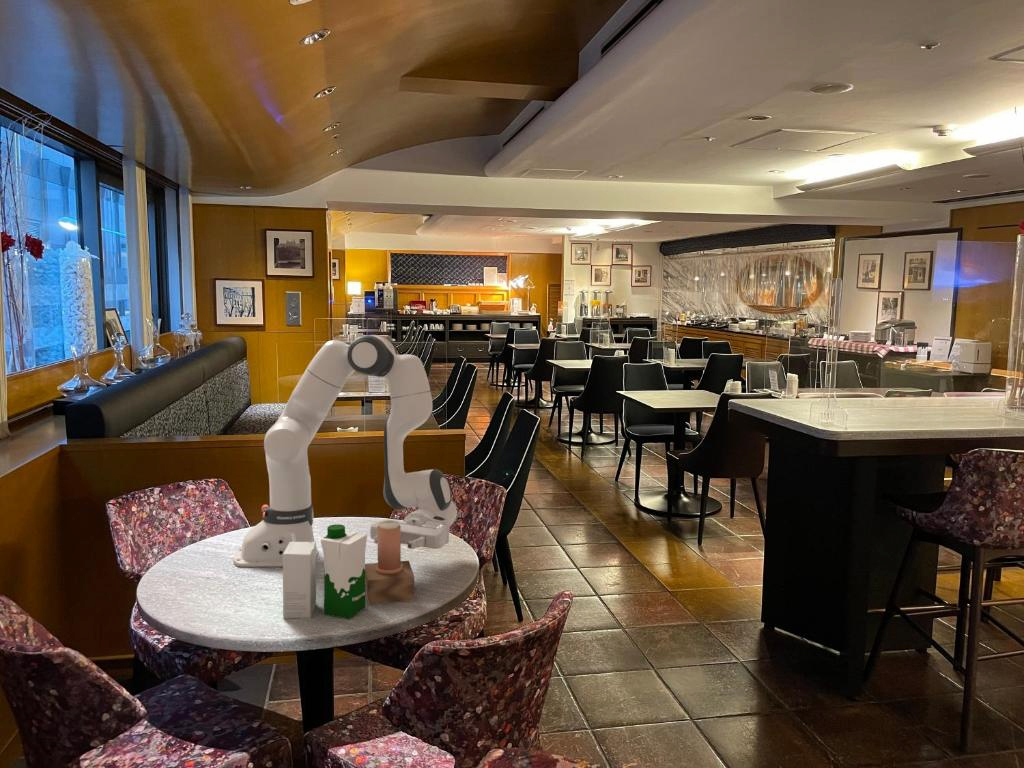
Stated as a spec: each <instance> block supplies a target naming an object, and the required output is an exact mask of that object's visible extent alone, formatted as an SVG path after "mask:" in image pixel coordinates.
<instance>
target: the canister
mask: <svg viewBox="0 0 1024 768" xmlns="http://www.w3.org/2000/svg"><path fill="white" fill-rule="evenodd" d="M377 540H378V544H377V563H378V564H377V565H376V572H377V573H378V574H382V575H394V574H398V573H400V572H402V570H403V565H402V564H401V561H402V560H401V558H402V555H401V551H402V550H401V549H402V548H401V546H402V545H401V526H400V525H399V522H397V521H383V522H380V523H379V526H378V527H377Z"/></svg>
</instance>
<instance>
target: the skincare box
mask: <svg viewBox="0 0 1024 768" xmlns="http://www.w3.org/2000/svg"><path fill="white" fill-rule="evenodd" d="M316 548H317V542H316V541H315V542H290V543H289V544H288V546H287V548H286V550H285V551H284V553H283V566H282V618H283V619H285V620H286V619H289V620H290V619H311V617H312V616H313V612H314V610H315V607H316V605H317V555H316Z"/></svg>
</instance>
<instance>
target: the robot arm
mask: <svg viewBox="0 0 1024 768" xmlns="http://www.w3.org/2000/svg"><path fill="white" fill-rule="evenodd" d="M397 351H398V350H397V348H396V345H395V343H393V342H392V341H391V340H390V339H389V338H387V337H385V336H381V335H378V334H369V335H368V334H364V335H361V336H358V337H357V338H355V339H354V340H353V341H352V342H351V343H350V344H348V343H346V342H344V341H343V340H337V339H332V340H329V341H328V340H327V342H325V343H324V344H323V346H321V348H320V349H319V350H318V351H317V353H316V354H315V355H314V357H313V358H312V359H311V360H310V362H309V364H308V366H307V367H306V368H305V370H304V372H303V374H302V376H300V379H299V380H298V382H297V384H296V386H295V387H294V389H293V390H292V392H291V394H290V397H289V399H288V401H287V403H286V404H285V407H284V408H283V410H282V411H281V414H280V415H279V417H278V419H277V420H276V422H275V423H274V424H273V425H272V426H271V427H269V429H268V430H267V431H266V434H265V435H264V438H263V439H264V440H263V448H264V454H265V462H266V468H267V469H266V470H267V473H268V482H269V484H268V485H269V505H268V504H263V505H262V506H261V513H262V514H261V515H262V520H261V521H260V522H259V523H257V524H256V525H255V526H254V527H252V528H251V529H250V530H248V531H247V532H246V533H245V536H244V537H243V539H242V543H241V547H240V548H239V549H236V550H235V552H234V554H233V559H232V561H233V564H234V565H235V566H237V567H248V568H249V567H250V568H251V567H252V568H253V567H283V553H284V551H285V550H286V548H287V546H288V544H289V543H290V542H316V540H315V536H314V531H313V530H314V528H313V525H314V507H313V504H312V487H311V486H312V485H311V484H312V483H311V482H312V480H311V478H312V477H311V474H310V466H309V456H308V447H309V445H311V444H312V443H311V442H312V441H313V439H314V438H315V436H316V434H317V432H318V430H319V429H320V427H321V425H322V424H323V422H324V420H325V418H326V417H327V415H328V413H329V412H330V410H331V408H332V407H333V405H334V403H335V401H336V400H337V398H338V396H339V395H340V393H341V391H342V390H343V388H344V386H345V385H346V383H347V381H348V380H349V378H350V377H351V375H353V374H354V373H355V372H356V373H358V374H360V375H363V376H369V377H379V378H384V379H385V382H386V384H387V386H388V390H389V397H390V403H391V404H390V413H389V416H388V418H386V420H385V421H384V426H383V428H384V429H383V456H384V460H383V461H384V482H383V487H382V488H383V492H382V493H383V498H384V500H385V503H387V505H389V506H390V507H391V508H392V509H393V510H395V511H403V510H407V509H411V508H417V509H416V510H414V511H412V512H410V513H408V514H407V515H406V516H405V517H404V519H403V521H402V520H397V519H390V518H389V519H383V520H380V521H377V522H374V523H373V524H371V525H370V526H369V534H370V538H371V539H372V540H374V544H377V545H378V540H377V527H378V526H379V523H380V522H383V521H397V522H399V525H400V526H401V544H402V545H407V549H409V550H414V549H416V548H429V549H441V548H442V547H444V546H446V545H447V544H449V540H450V527H451V526H452V525H453V524H454V522H455V520H456V517H457V515H458V512H457V506H456V504H455V502H454V500H452V499H453V498H452V493H453V492H452V486H451V483H450V480H449V479H448V478H447V476H446V475H445V474H444V473H443V471H441V470H439V469H437V468H434V469H425V470H420V471H419V470H418V471H412V472H406V471H405V469H404V468H405V467H404V441H405V440H406V437H407V436H408V435H409V434H410V433H411V432H413V431H414V430H416V429H417V428H420V427H421V426H423V424H425V422H426V421H428V419H429V418H430V416H431V415H432V412H433V397H432V392H431V387H430V383H429V378H428V376H427V372H426V370H425V366H424V364H423V361H422V360H421V358H420V357H418V356H417V355H415V354H410V353H409V354H408V353H406V354H405V353H404V354H398V352H397ZM318 553H319V550H318V547H316V556H317V555H318Z"/></svg>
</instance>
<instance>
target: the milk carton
mask: <svg viewBox="0 0 1024 768" xmlns="http://www.w3.org/2000/svg"><path fill="white" fill-rule="evenodd" d="M326 530H327V531H326V532H327V534H326V535H325V536H324V537H322V538H321V539H320V544H321V545H320V546H321V548H322V553H323V576H324V577H323V578H324V580H323V583H324V584H323V586H324V587H323V590H324V592H323V593H324V595H323V596H324V597H323V615H327V616H331V617H335V618H341V619H346V620H347V619H348V620H350V619H352V618H353V617H354V616H356V615H357V614H359V613H360V612H361V611H363V610H364V609H365V608H367V603H366V602H367V601H366V599H367V597H366V589H365V564H366V550H367V549H366V547H367V538H368V534H367V533H366V534H365V533H361V532H358V531H348V530H346V526H345V525H344V524H337V523H336V524H331V525H328V526H327V529H326Z"/></svg>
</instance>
